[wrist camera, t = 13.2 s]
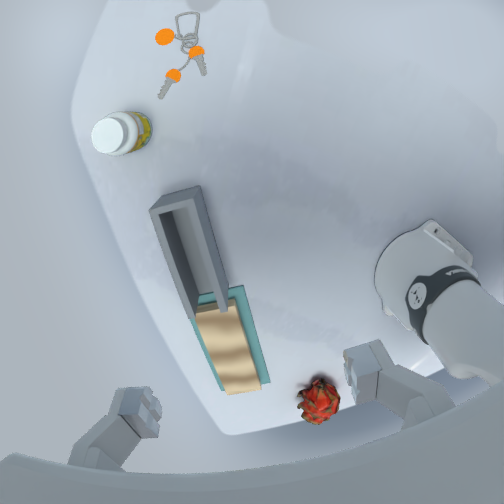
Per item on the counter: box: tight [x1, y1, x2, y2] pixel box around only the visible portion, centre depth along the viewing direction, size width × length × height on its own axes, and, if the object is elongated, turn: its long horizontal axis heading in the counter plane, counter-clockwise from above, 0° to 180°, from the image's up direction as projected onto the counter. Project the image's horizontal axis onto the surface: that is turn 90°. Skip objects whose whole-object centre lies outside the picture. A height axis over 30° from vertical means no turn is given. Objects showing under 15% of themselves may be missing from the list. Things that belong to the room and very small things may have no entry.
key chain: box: [155, 12, 207, 99], centre depth 33 cm, size 13×7×1 cm, turn 2°
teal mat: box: [190, 285, 270, 391], centre depth 52 cm, size 23×10×1 cm, turn 12°
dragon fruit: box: [297, 379, 340, 425], centre depth 56 cm, size 8×8×12 cm
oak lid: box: [194, 299, 261, 395], centre depth 51 cm, size 20×7×3 cm, turn 12°
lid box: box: [149, 186, 228, 319], centre depth 41 cm, size 16×6×7 cm, turn 12°
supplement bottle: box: [91, 112, 152, 156], centre depth 33 cm, size 5×5×10 cm
